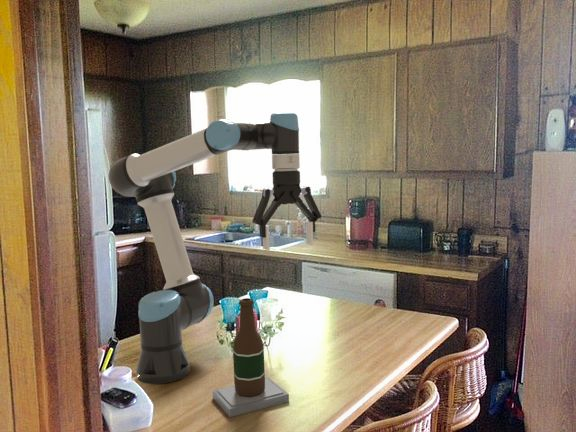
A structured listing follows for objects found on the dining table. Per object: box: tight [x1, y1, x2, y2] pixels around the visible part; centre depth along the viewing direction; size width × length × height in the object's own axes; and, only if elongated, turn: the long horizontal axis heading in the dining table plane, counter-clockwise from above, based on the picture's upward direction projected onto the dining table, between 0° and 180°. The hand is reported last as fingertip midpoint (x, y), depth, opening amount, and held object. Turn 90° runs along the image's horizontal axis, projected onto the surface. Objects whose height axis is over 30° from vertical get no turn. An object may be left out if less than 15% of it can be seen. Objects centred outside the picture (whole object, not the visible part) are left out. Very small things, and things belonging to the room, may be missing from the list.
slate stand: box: [212, 377, 290, 418], centre depth 137 cm, size 12×16×2 cm
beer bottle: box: [232, 297, 266, 397], centre depth 136 cm, size 8×8×24 cm
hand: (288, 246), depth 149 cm, fingers open, 13 cm apart
